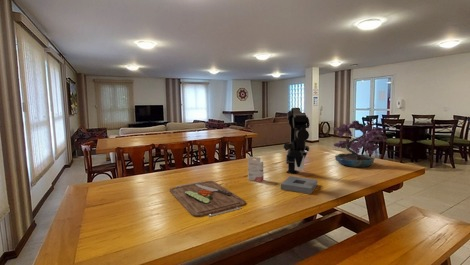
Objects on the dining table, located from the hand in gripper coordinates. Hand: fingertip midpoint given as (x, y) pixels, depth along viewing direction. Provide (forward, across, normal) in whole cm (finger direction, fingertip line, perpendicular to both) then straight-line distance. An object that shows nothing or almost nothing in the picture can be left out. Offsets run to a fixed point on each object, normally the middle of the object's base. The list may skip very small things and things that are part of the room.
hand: (299, 166), depth 139 cm
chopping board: (+13, +35, -39) cm, 54 cm away
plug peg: (+2, 0, 0) cm, 2 cm away
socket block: (+12, 0, 0) cm, 12 cm away
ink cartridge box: (+12, -1, -27) cm, 30 cm away
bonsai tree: (+12, -66, +25) cm, 72 cm away
